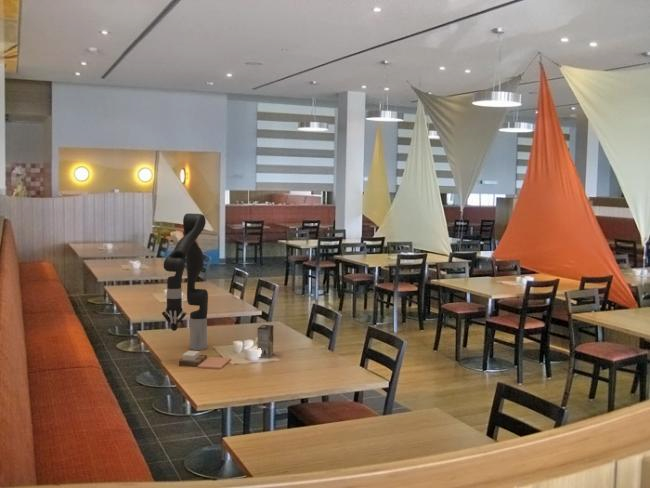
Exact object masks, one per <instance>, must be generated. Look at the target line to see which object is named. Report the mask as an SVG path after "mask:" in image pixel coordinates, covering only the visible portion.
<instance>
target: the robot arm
mask: <svg viewBox="0 0 650 488" xmlns="http://www.w3.org/2000/svg"><path fill="white" fill-rule="evenodd" d="M182 221H183V222H182V225H183V226H182V227H183V232H184V236H182V238H180V239H179V240H178V241H177V243H176V245H175V248H174V249H173V251H171V253H169V254H168V255H167V257H166V258H165V259H164V262H163V269H164V270H165V271H166V272H170V273H171V272H173V273H174V272H175V274H174V275H170V276H168V277H167V279H166V280H167V281H166V287H167V289H166V308H165V310H164V311H163V312H161V315H162V316H163V317H164V319H165V321H166V322H168V323H169V324H170V329H171V330H172V331H173V332H175V331H177V330H178V324H179V323H181V322H182V320H183V319H184V318H185V317H186V316H187V312H185V311H184V309H183V308H182V307H183V299H182V298H183V295H182V279H183V274H184V271H185V268H186V274H187V277H186V281H187V282H186V301H187V304H188V305H189V306H196V307H197V306H198V309H197V310H193V311H191V312H190V313H189V349H190V350H191V351H203V350H207V349H208V309H209V308H208V307H209V303H208V302H209V293H208V291H207V289H206V288H205V289H204V288H196V281H197V279H198V276H200V274H201V272H202V270H203V268H204V264H205V263H204V253H203V251H202V249H201V247H200V246H199V244H198V243H197V241H196V240H197V239H198V237H199V236H200V235H201V233H202V232H203V231H204V228H205V227H206V223H207V221H206V217H205V215H204V214H202V213H185V214H184V216H183V219H182ZM185 261H186V262H185ZM185 263H186V264H185Z"/></svg>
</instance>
